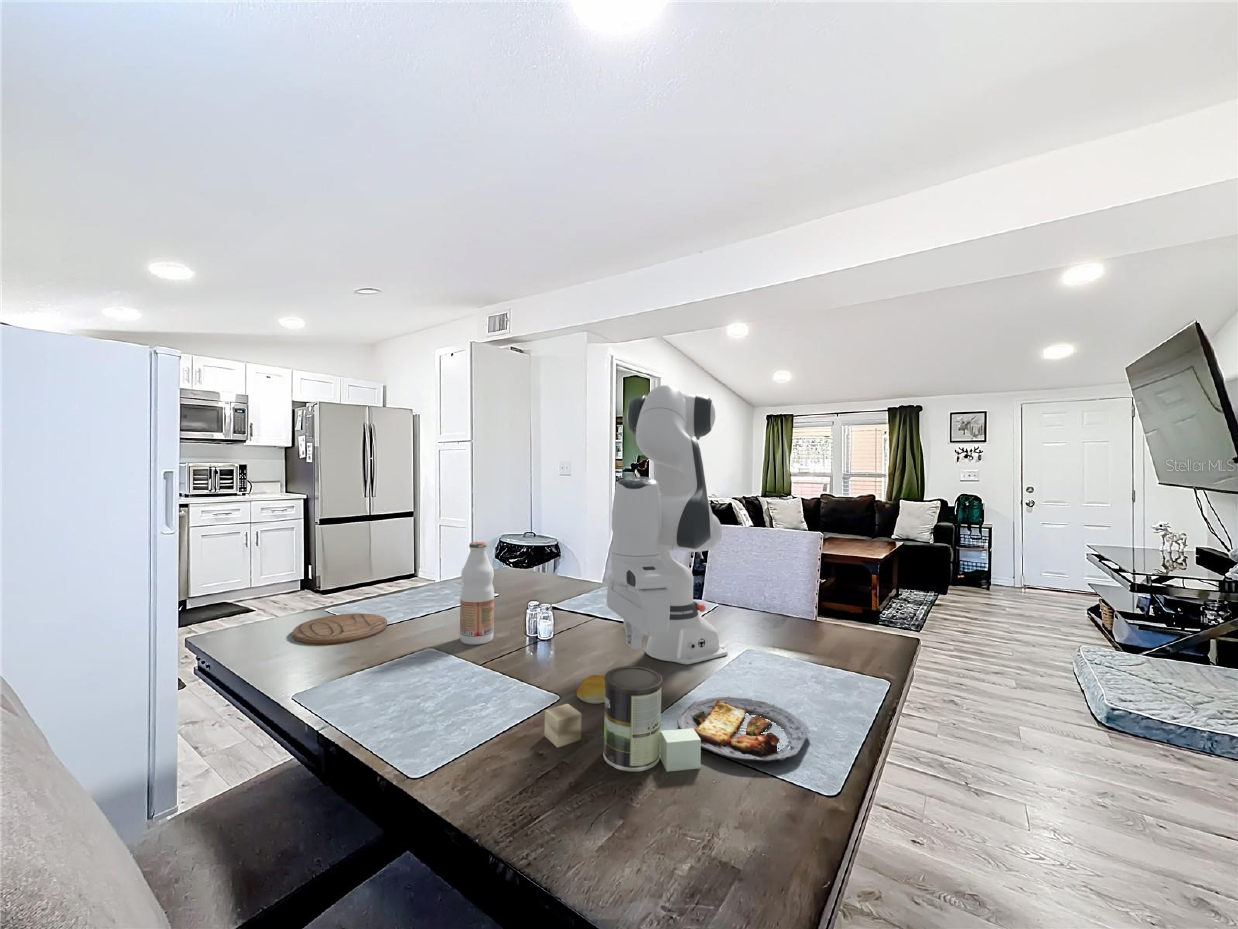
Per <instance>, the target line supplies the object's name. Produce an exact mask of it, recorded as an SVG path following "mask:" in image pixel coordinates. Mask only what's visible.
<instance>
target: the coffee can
mask: <svg viewBox="0 0 1238 929" xmlns="http://www.w3.org/2000/svg"><path fill="white" fill-rule="evenodd" d="M604 676H605V678H604V680H605V702H604V712H603V713H604V715H603V716H604V717H603V718H604V719H603V720H604V722H603V725H604V726H603V727H604V728H603V752H602V755H603V759H604V761H605V762H606V763H607V764H608V765H609V766H611V767H613V768H614V769H616V770H618V771H622V772H630V773H631V772H634V773H636V772H643V771H647V770H650V769H652V768H654V767H655V766H656V765H657V764H659V762H660V761H661V759H660V750H661V724H662V722H661V718H662V685H663V676H662V674H660V673H659V672H657V671H656V670H654V669H651V668H648V667H646V666H645V667H644V666H637V665H628V666H627V665H626V666H619V667H615V668H612V669H610V670H608V671H607V672H606V673H605V674H604Z"/></svg>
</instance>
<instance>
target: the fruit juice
mask: <svg viewBox="0 0 1238 929" xmlns="http://www.w3.org/2000/svg"><path fill="white" fill-rule="evenodd" d="M468 547H469V549H470V550H469V553H468V556H467V559H466V561H465V564H464V566H463V568H462V570H461V573H460V574H461V575H460V576H461V580H462V587H461V589H460V596H459V597H460V603H459V604H460V607H459V613H460V614H459V640H460V642H461V643H463V644H464V645H470V646H471V645H473V646H474V645H483V644H487V643H489V642H491V641H492V640H493V639H494V631H495V630H494V628H495V626H494V625H495V624H494V623H495V622H494V621H495V618H494V616H495V588H494V585H493V580H494V575H495V571H494V568H493V566H492V565H491V562H490V559H489V556H488V553H487V547H488V543H487V542H485V541H472V542H469V546H468Z"/></svg>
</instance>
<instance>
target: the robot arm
mask: <svg viewBox="0 0 1238 929" xmlns="http://www.w3.org/2000/svg"><path fill="white" fill-rule="evenodd" d="M626 421H627V425H628V428H629V431H630V432H631V433H632V434H633V435H635V442H636V445H637V447H638V449H639V450H640V452H641V453H642V454H643V455H644V456H645V457H646V458H647V459H649V460H650V461H652V462H653V478H651V477H647V476H629V477H624V478H621V479H620V480H618V481H617V482H616V485H615V489H614V494H613V501H612V509H611V531H612V534H613V535H612V536H613V541H612V544H611V549H610V571H609V574H608V579H607V587H606V604H607V608H608V609H609V610H611V611H612V612H613V613H615V614H616V615H618V616H619V617H621V618H622V619H623V627H624V631H625V632H624V633H625V638H626V639H625V643H626V644H627V645H628V647H630V648H631V649H632V650H641V649H642V645H643V644H642V643H643V638H644V636H646V637H648V640H647V644H646V648H645V651H644V652H645V653H646V654H647V656H650V657H651V658H654V659H656V660H659V661H666V662H673V663H677V664H680V665H681V664H682V665H691V664H696V663H699V662H703V661H708V660H712V659H715V658H716V659H717V658H720V657H724V656H727V655H729V653H728V649H727V647H726V646H725V645H724V644H722V643H721V642H720V639H719V632H718V631H717V629H716V628H715V626H713V625H712V624H711V623H710V622H708V620H706V619H705V618H704V617H703V616H701V615H700V614H699V612H700V613H704V612H705V611H706V605H705V604H702V602H701V603H700V602H699V603H698V602H696V601H694V575H693V572H692V570H690V568H688V567H687V566H686V565H685V564H682V563H680V562H679V561H677V560H676V559H674V557H673V555H672V552H673V551H675V552H690V553H691V552H692V553H697V552H699V553H700V552H706V551H712V550H714V549H716V547H718V545H719V543H720V542H721V539H722V535H723V529H722V524H721V522H720V520H719V518H718V517H717V516H716V515H715V514H714V513H713V511H712V510H713V509H712V507H711V504H710V501H709V498H708V493H707V491H708V490H707V483H706V478H705V470H704V463H703V462H704V461H703V458H702V452H701V448H700V445H699V443H698V441H699V440H700V439H701V438H703V437H705V436H707V435H708V434H709V433H710V432H711V431H712V428H713V427H714V424H715V421H716V409H715V406H714V404H713V400H712V399H711V398H710V397H709V395H704V394H698V393H696V394H689V393H682V392H681V390H679V389H678V388H676V387H675V386H672V385H668V384H667V385H665V384H664V385H659V386H656V387H654V388H653V389H652V390H651V391H649V392H648V394H647V395H646V394H643V395H640V396H639V395H638V396H635V397H634V398H633V399H632V400H631V401H630V402H629V404H628V409H627V412H626ZM695 438H696V439H695Z"/></svg>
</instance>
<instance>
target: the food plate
mask: <svg viewBox="0 0 1238 929" xmlns="http://www.w3.org/2000/svg"><path fill="white" fill-rule="evenodd" d="M746 713H748V714H749V715H756V716H755V717H752V716H751V717H750V719H749V720H748V722H747V723H746V727H747V728H743V727H744V725H743V722H744V721H745V720H746V715H745V714H746ZM760 716H761V717H760ZM744 719H745V720H744ZM765 719H768V720H770V721H771V722H774V723H776V725H777V726H780V727H781V729H784V730H783V731H784V732H785V734H786V736H787V738H786V739H789V740H788V742H787V741H786V742H787V743H788V744H787V745H785V747H784V748H782V749H781V750H780V751H777V744H778V742H780V741H779V740H781V738H780V736H779V735H778V736H776V735H777V734H776V735H775V733H774V732H772V731H769V732H770V733H767V734H762V735H761V733H763V732H765V730H766V729H767V730H768V728H769V726H771V727H773V724H772V723H771V722H769V721H766V720H765ZM676 723H677V727H678V729H690V728H693V729H694V730H695V732H696V733H697V735H698V736H699V737H700V739H701V749H704V750H707V751H710V752H711V753H714V754H717V755H720V756H721V757H724V758H725V759H731V760H737V761H738V760H739V761H755V762H757V761H758V762H762V763H768V762H776V763H777V764H778V763H779V762H783V761H784V760H785V759H786V758H788V759H793V758H794V757H795V756H796V755H797V754H799V753H800V751H801V748H802V747H803V746H804V745H805V744H804V743H805V741H806V740H807V738H808V735H809V734H810V733H811V731H810V728H809V727H808V725H807V724H806V723H805V722H803V721H802V720H801V719H799V718H798V717H796V715H795V714H792V713H791V712H789V711H788V710H786V709H784V708H782V707H779V706H777V705H775V704H771V703H769V702H766V701H762V700H754V699H752V698H747V697H732V696H718V697H715V696H714V697H709V698H705V699H703V700H699V701H694V702H693V703H691V704H690V705H689V706H688V707H687V708H686V709H685V710H683V712H682V713H681V715H679V717H677V721H676ZM744 723H745V722H744ZM741 726H743V727H741ZM740 729H746V731H744V730H740ZM769 729H770V728H769ZM783 731H782V732H783ZM738 732H739V733H738ZM740 732H746V734H741V733H740ZM786 736H785V737H786ZM781 746H783V745H781ZM789 746H790V748H789V750H790V751H789V750H788V747H789ZM778 749H779V748H778Z"/></svg>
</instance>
